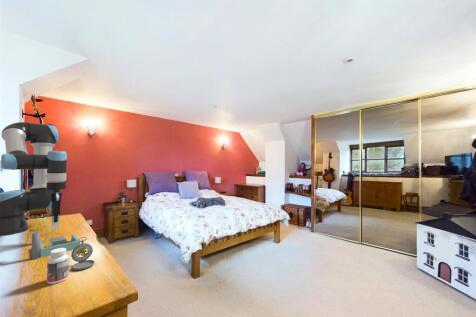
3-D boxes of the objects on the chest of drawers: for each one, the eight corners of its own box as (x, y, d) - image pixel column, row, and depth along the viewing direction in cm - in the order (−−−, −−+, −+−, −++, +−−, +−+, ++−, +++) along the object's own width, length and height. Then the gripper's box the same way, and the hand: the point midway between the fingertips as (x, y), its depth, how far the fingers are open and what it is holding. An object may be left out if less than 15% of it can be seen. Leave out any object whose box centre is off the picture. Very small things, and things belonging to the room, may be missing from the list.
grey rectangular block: (49, 247, 96) (49, 238, 96) (63, 244, 100) (63, 235, 100) (51, 251, 91) (52, 242, 92) (66, 247, 95) (66, 239, 95)
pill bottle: (42, 282, 67) (43, 251, 67) (62, 274, 72) (62, 245, 72) (53, 286, 65) (53, 254, 65) (72, 277, 70) (72, 248, 70)
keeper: (29, 249, 93) (30, 227, 93) (73, 240, 104) (74, 220, 105) (31, 260, 83) (32, 234, 83) (80, 248, 94) (80, 226, 94)
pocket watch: (82, 272, 73) (83, 243, 73) (63, 269, 75) (64, 241, 75) (102, 261, 81) (102, 235, 82) (84, 259, 83) (84, 234, 83)
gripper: (45, 180, 106) (43, 226, 106) (47, 183, 98) (46, 233, 97) (64, 180, 112) (62, 223, 112) (68, 182, 103) (66, 229, 103)
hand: (55, 228), depth 104 cm, fingers closed
